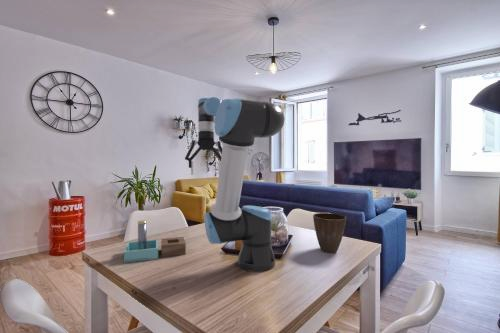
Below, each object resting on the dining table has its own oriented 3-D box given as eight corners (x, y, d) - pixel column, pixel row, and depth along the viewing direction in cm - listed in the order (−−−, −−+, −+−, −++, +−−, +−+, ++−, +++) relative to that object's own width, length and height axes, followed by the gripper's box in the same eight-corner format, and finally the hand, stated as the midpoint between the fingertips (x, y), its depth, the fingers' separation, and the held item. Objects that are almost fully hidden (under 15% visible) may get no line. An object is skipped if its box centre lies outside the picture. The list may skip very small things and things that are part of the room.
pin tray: (158, 258, 110) (158, 248, 110) (124, 262, 105) (124, 252, 105) (158, 248, 122) (157, 239, 122) (127, 252, 118) (127, 242, 118)
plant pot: (315, 243, 132) (316, 211, 131) (347, 247, 125) (347, 214, 125) (309, 252, 118) (310, 217, 118) (344, 258, 112) (344, 221, 111)
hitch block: (185, 254, 115) (185, 243, 115) (161, 257, 112) (161, 245, 112) (183, 247, 124) (183, 236, 124) (161, 249, 121) (161, 238, 121)
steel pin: (146, 254, 113) (146, 222, 112) (137, 255, 111) (137, 222, 111) (146, 251, 116) (146, 220, 116) (138, 252, 115) (138, 220, 114)
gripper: (228, 132, 134) (228, 173, 135) (179, 130, 126) (179, 174, 127) (232, 131, 127) (232, 174, 128) (180, 129, 119) (180, 175, 119)
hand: (206, 174), depth 127 cm, fingers open, 13 cm apart
